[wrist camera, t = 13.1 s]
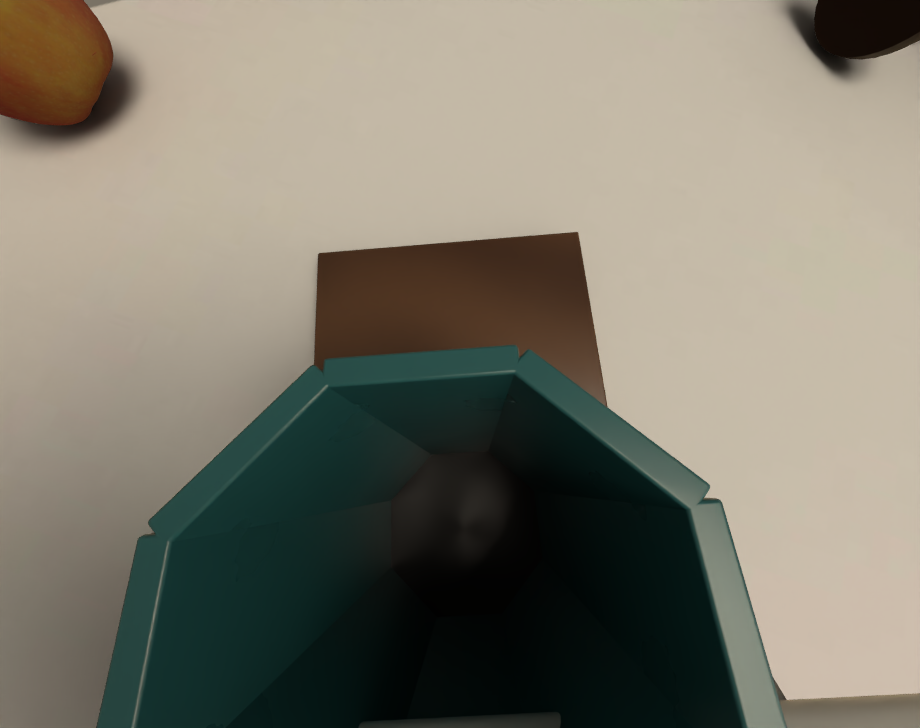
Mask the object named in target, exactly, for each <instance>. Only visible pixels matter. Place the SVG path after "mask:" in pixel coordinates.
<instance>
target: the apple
mask: <svg viewBox="0 0 920 728" xmlns="http://www.w3.org/2000/svg"><path fill="white" fill-rule="evenodd" d="M112 62H113V50H112V46H111V43H110V40H109V38H108V35H107V33H106V31H105V30H104V28H103V26H102V25H101V23H100V22H99V20H98V18H97V17H96V16H95V15H94V13H93V12H92V11H91V9H90V8H89V7H88V5H87V4H86V3H85V2H84V0H0V114H1V115H4V116H7V117H11V118H14V119H18V120H22V121H27V122H32V123H37V124H44V125H72V124H76V123H79V122H82V121H84V120H85V119H86V118H87V117H88V116H89V115H90V113H91V110H92V107H93V105H94V104H95V102H96V101H97V100H98V98H99V95H100V92H101V90H102V86H103V83H104V81H105V80H106V78H107V76H108V74H109V72H110V70H111V66H112Z"/></svg>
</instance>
